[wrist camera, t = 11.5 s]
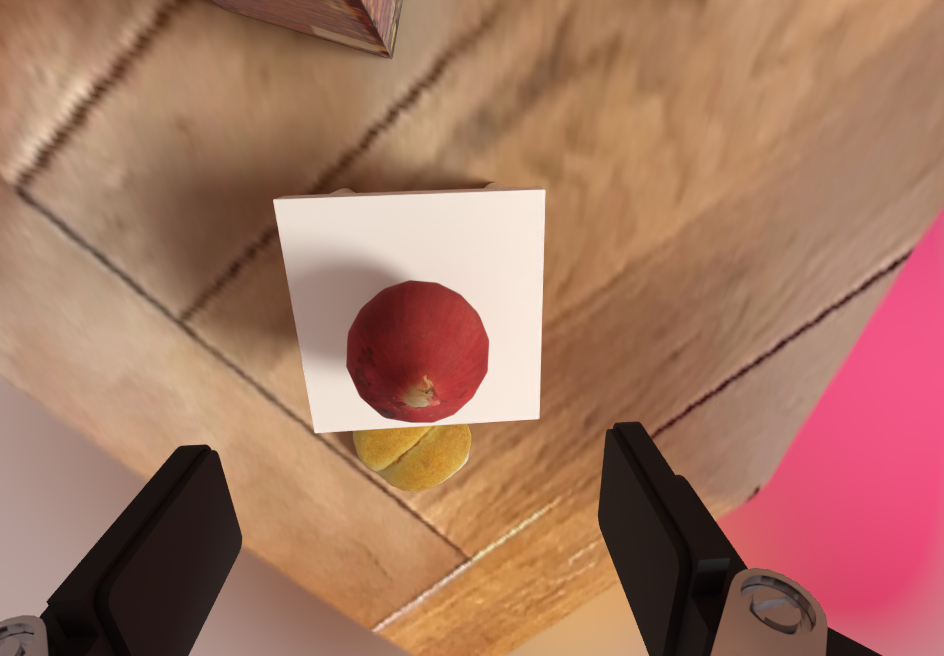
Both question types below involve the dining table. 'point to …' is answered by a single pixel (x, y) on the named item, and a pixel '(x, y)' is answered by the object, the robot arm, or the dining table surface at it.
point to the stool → (420, 259)
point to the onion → (417, 352)
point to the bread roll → (414, 453)
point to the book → (330, 19)
